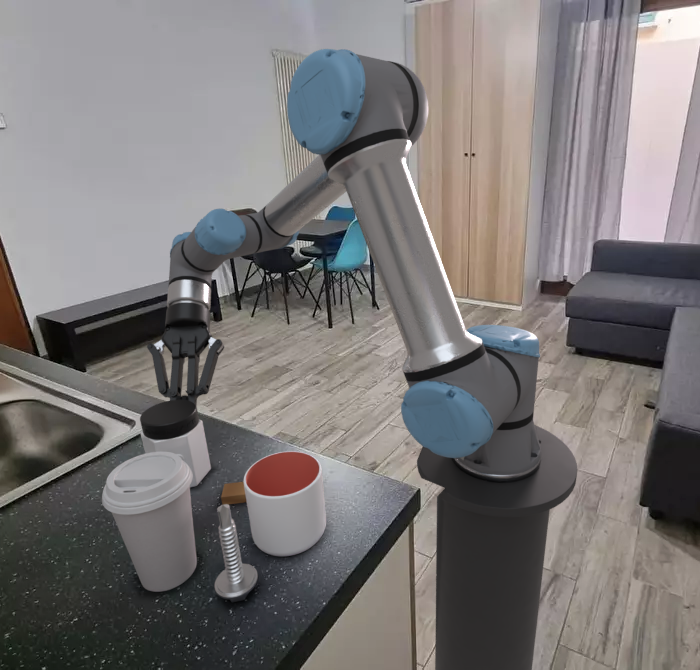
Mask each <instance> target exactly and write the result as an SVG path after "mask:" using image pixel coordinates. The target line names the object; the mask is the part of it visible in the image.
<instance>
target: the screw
mask: <svg viewBox="0 0 700 670" xmlns="http://www.w3.org/2000/svg"><path fill="white" fill-rule="evenodd" d="M216 511H217V516H218V521H219V526H218V528H217V529H218V535H219V537H218V538H219V539H220V541H219V542H220V547H221V551H222V555H223V557H222V558H223V563H224V567H225V568H224V570H223V571H221V572H220V573H219V574H218V576H216V578H215V581H214V590H215V593H216V596H218V597H219V598H221V599H223V600H229V601H230V602H231V603H236V602H242V601H245V599H246V598H247V596H249V593H250V592H251V591H252V590H253V589H254V588H255V587H256V585H257V582H258V579H259V576H258V571H257V569H256V568H255V567H254V566H253V565H251V564H249V563H243V561H242V556H241V555H242V554H241V550H240V545H239V544H240V543H239V537H238V532H237V525H236V523H235V520H234V519H233V518H232V512H231V508H230V504H224V505H222V504H221V505H220V506H218V507H217V508H216Z"/></svg>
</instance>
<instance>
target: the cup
mask: <svg viewBox="0 0 700 670" xmlns="http://www.w3.org/2000/svg"><path fill="white" fill-rule="evenodd" d="M243 482H244V489H245V495H246V501H247V502H246V506H247V512H248V519H249V520H248V521H249V527H250V533H251V538H252V541H253V542H254V544H255V546H256V547H257V548H258V549H259V550H260V551H262V552H263V553H265V554H268V555H271V556H274V557H289V556H295V555H298V554H301V553H303V552H305V551H308V550H309V549H310V548H312V547H313V546H315V544H316V543H318V542H319V541H320V540H321V538H322V536H323V534H324V532H325V530H326V526H327V512H326V500H325V490H324V489H325V488H324V478H323V469H322V465H321V462H320V461H319V460H318V458H316V456H313V455H312V454H310V453H307V452H304V451H297V450H296V451H295V450H288V451H287V450H286V451H280V452H275V453H272V454H269V455H266V456H263V457H262V458H260V459H258V460H257V461H255V462H254V463H252V465H251V466H250V467H248V469H247V470H246V471H245V474H244V477H243Z"/></svg>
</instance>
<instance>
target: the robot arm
mask: <svg viewBox="0 0 700 670" xmlns="http://www.w3.org/2000/svg"><path fill="white" fill-rule="evenodd" d="M289 88H290V89H289V91H288V93H287V100H286V113H287V118H288V125H289V128H290V131H291V133H292V135H293V137H294V139H295V140H296V142H297V143H298V145H299V146H301V148H304V149H306V150H307V151H308V152H310V153H312V154H314V155H317V156H316V157H315V158H313V160H312V161H310V163H309V164H307V166H305V168H304V169H302V170H301V171H300V172H299V173H298V174H297V175H296V176H295V177H294V178H293V179H292V180H291V181H290V182H289V183H288V184H287V185H286V186H285V187H283V189H281V190H280V191H279V192H278V193H277V194H276V195H275V196H274V197H273V198H272V199H271V200H270V201H269V202H268V203H267V204H265V206H263V208H261V209H260V210H259V211H257V212H254V213H247V214H240V215H238V214H236V212H233V211H231V210H227V209H225V208H214V209H212V210H210V211H209V212H207V214H206V215H205V216H203V217H202V218H201V219H199V221H198V222H197V224H196V225H195V227H194V228H193V229H192V231H185V232H184V231H183V233H181V234H180V233H179V234H177V235H175V236H174V238H173V239H172V244H171V248H170V251H169V273H168V288H167V299H166V307H167V308H166V312H165V323H164V328H165V329H164V332H163V334H162V335H161V338H160V340H159V341H157V342H156V343H148V344H147V345H146V348H147V350H148V351H149V353H150V354H151V356H152V362H153V368H154V372H155V379H156V384H157V391H158V393H159V394H161V396H162V397H164V398H169V401H171V400H188V401H191V402H193V403H195V404H196V406H197V405H198V404H197V403H198V398H200V396H202V395H207V394H208V393H209V391H210V388H211V384H212V380H213V377H214V374H215V371H216V367H217V363H218V359H219V356H220V355H221V353H222V352H223V351H224V349H225V344H224V343H223V341H222V340H221V339H220V338H218V339H216V338H214V337H213V335H212V333H211V331H210V330H211V329H210V328H211V305H212V304H211V303H212V301H211V300H212V277H213V273H214V272H215V271H216V270H218V268H219V267H220V266H221V265H222V264H223V263H224V262H226V261H227V260H230V259H235V258H239V257H245V256H248V255H249V256H250V255H253V254H257V253H264V252H268V251H273V250H281V249H284V248H286V247H287V246H288V247H289V246H291V245H293V244H294V243H296V241H297V239H298V236H299V234H300V231H301V229H302V228H303V227H305V226H306V225H307V224H309V223H310V222H311V221H312V220H314V218H316V217H317V216H318V215H320V214H321V213H322V212H323V211H325V209H327V208H328V207H329V206H330V205H332V204H333V203H335V202H336V201H337V200H338V199H340V197H341V196H343V195H344V194H346V193H347V196H348V199H349V202H350V205H351V207H352V209H353V212H354V215H355V217H356V220H357V222H358V225H359V228H360V230H361V233H362V236H363V238H364V241H365V243H366V247H367V248H368V251H369V253H370V257H371V259H372V262H373V265H374V268H375V270H376V273H377V275H378V278H379V281H380V283H381V286H382V289H383V292H384V294H385V296H386V299H387V301H388V305H389V307H390V310H391V312H392V315H393V317H394V321H395V323H396V325H397V328H398V331H399V334H400V336H401V338H402V341H403V344H404V347H405V349H406V352H407V356H406V358H405V360H404V362H403V364H402V367H401V370H402V373H403V375H404V378H405V381H406V383H407V386H408V389H407V390H406V391H405V393H404V395H403V398H402V399H403V401H402V402H401V405H400V413H401V418H402V421H403V424H404V426H405V428H406V429H407V431H408V432H409V434H410V435H411V437H412V438H413V439H414V440H415V441H416V442H417V443H418V444H419V445H420V446H422V447H425V448H428V449H430V451H432V452H433V453H435V454H437V455H440V456H444V457H449V458H452V461H453V462H454V464H455V465H456V466H457V467H458V468H459V469H460V470H461V471H463V472H464V473H466V474H468V475H470V476H472V477H474V478H477V479H480V480H483V481H488V482H496V483H509V482H516V481H520V480H523V479H526V478H528V477H530V476H532V475H533V474H534V473H535V472H536V471H537V470H538V469H539V467H540V463H541V447H540V443H541V440H539V439H538V436H537V432H536V429H535V425H536V424H535V422H534V415H535V413H534V412H535V402H536V391H537V383H538V381H537V380H538V372H539V371H538V370H539V360H540V358H541V354H540V340H539V338H538V337H537V336H536V334H534V333H533V332H531V331H529V330H526V329H522V328H519V327H514V326H508V325H501V324H500V325H499V324H479V325H474V326H470V327H468V328H466V325H465V323H464V320H463V316H462V314H461V311H460V309H459V306H458V303H457V301H456V297H455V295H454V292H453V289H452V287H451V284H450V281H449V278H448V276H447V273H446V270H445V267H444V264H443V262H442V258H441V256H440V254H439V251H438V249H437V245H436V242H435V240H434V237H433V233H432V232H431V229H430V227H429V223H428V221H427V218H426V215H425V213H424V209H423V207H422V205H421V202H420V201H421V200H420V199H419V196H418V193H417V191H416V188H415V185H414V183H413V179H412V177H411V174H410V171H409V169H408V166H407V163H406V162H407V158H408V155H409V153H410V151H411V148H412V147H413V146H414V145H415V144H416V142H417V141H418V140H419V139H420V137H421V136H422V135H423V132H424V131H425V128H426V125H427V122H428V117H429V100H428V95H427V92H426V88H425V86H424V85H423V83H422V81H421V80H420V78H419V77H418V76H417V75H416V74H415V72H414V71H412V70H411V69H410V68H409V67H407V66H405V65H403V64H402V63H399V62H396V61H395V62H394V61H390V60H384V59H380V58H376V57H372V56H367V55H362V54H358V53H355V52H353V51H352V50H349V49H346V48H344V49H343V48H342V49H333V48H323V49H322V48H321V49H319V50H315V51H313V52H311V53H310V54H308V55H307V56H306V57H305V58H304V59H303V60H302V61H301V63H300V64H299V65H298V66H297V68H296V70H295V71H294V73H293V76H292V78H291V81H290V87H289ZM165 347H166V348H167V350H168V351H169V352H170V353H171V369H170V370H171V371H170V382H169V378H168V373H167V367H166V362H165V358H164V356H163V355H164V354H165ZM207 347H208V350H207V351H208V352H207V354H206V359H205V360H204V365H203V368H202V372H201V375H200V378H199V372H200V371H199V369H200V361H201V355H202V353H203V352H204V351H205V349H206V348H207ZM186 358H187V373H186V374H187V378H186V390H185V393H186V395H185V394H183V395H182V389H183V377H184V365H185V361H186ZM197 407H198V406H197Z"/></svg>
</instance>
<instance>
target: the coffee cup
mask: <svg viewBox="0 0 700 670" xmlns="http://www.w3.org/2000/svg"><path fill="white" fill-rule="evenodd" d="M192 478H193V474H192V471H191V469H190V467H189V466H188V465H187V464H186V463H185V462H184V461H183V460H182V459H181V458H180V457H179V456H178V455H176V454H174V453H171V452H151V453H146V454H145V453H142V454H139V455H137V456H134V457H132V458H129V459H127V460H125V461H123V462H121V463H120V464H118V465H117V466H116V467H115V468H114V469H113V470H112V471H110V473H109V474H108V475H107V478H106V480H105V485H104V487H103V489H102V495H101V503H102V506H103V507H104V509H106V510H107V511H108V512H110V513H111V515H112V517H113V519H114V522H115V524H116V527H117V529H118V531H119V534H120V537H121V538H122V541H123V543H124V546H125V548H126V550H127V552H128V554H129V557H130V560H131V562H132V565H133V567H134V569H135V571H136V574H137V576H138V579H139V581H140V584H141V586H142V587H143V588H144V589H145V590H147V591H149V592H153V593H154V592H155V593H159V592H167V591H170V590H172V589H175V588H177V587H179V586H180V585H182V584H183V583H185V582H186V581H187V580H188V579H189V578H190V577H191V576H193V573H194V572H195V571H196V568H197V565H198V559H197V549H196V539H195V528H194V519H193V509H192V508H193V507H192V498H191V487H190V484H191V482H192Z"/></svg>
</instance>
